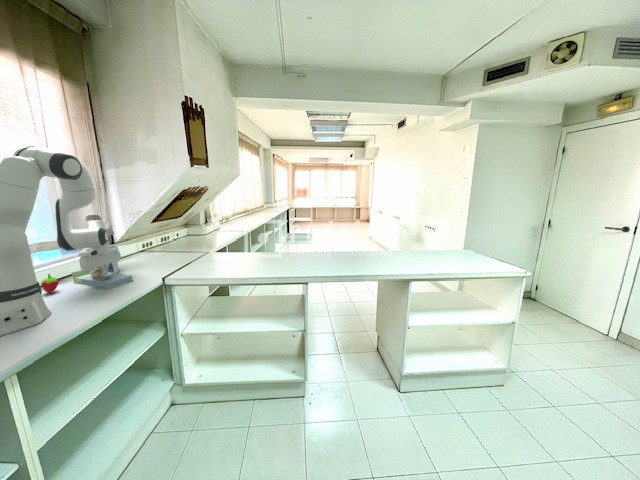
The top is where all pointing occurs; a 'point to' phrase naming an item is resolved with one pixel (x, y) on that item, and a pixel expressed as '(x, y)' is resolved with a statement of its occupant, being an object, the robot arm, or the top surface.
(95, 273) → the beech block
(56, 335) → the top surface
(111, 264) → the ink cartridge box
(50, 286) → the strawberry
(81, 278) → the trap board
